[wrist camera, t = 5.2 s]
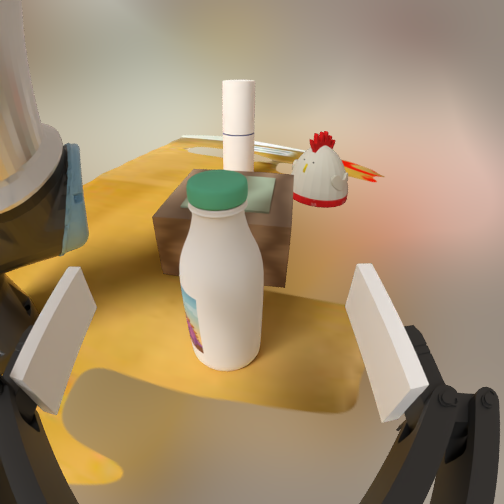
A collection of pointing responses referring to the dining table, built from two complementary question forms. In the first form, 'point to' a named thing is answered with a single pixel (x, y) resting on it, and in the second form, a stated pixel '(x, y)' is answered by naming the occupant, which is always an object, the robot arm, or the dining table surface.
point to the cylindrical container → (238, 124)
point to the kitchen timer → (320, 175)
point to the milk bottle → (221, 272)
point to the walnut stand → (257, 216)
